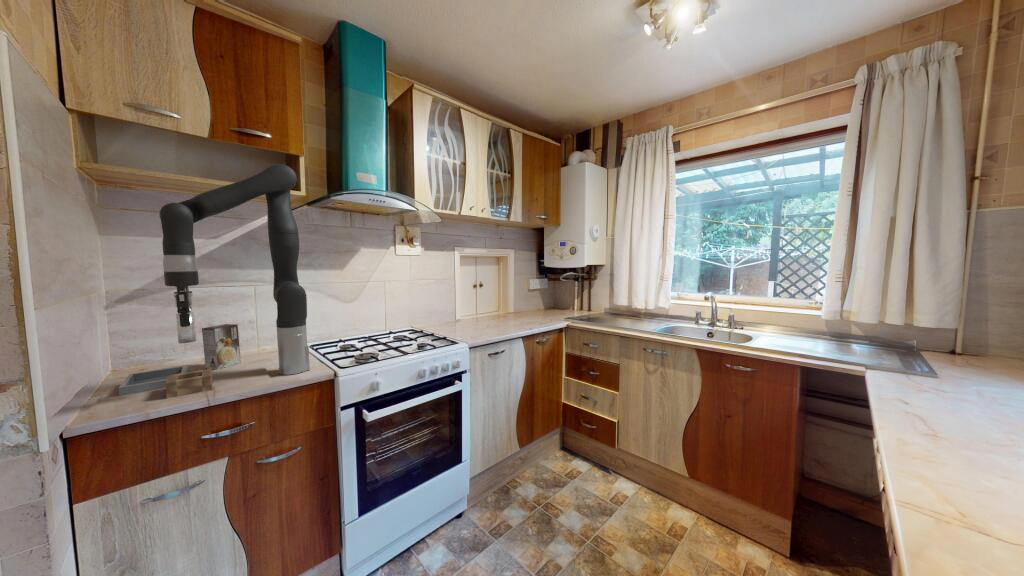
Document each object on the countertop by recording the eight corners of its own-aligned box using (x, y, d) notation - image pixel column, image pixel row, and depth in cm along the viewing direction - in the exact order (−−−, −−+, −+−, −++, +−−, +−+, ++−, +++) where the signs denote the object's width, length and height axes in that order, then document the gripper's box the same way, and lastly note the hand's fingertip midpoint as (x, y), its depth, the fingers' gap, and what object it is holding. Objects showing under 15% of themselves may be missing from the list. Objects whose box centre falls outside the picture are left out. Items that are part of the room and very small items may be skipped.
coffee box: (228, 362, 139) (225, 323, 138) (241, 362, 138) (238, 324, 137) (204, 369, 130) (201, 328, 129) (217, 369, 129) (214, 328, 128)
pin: (196, 339, 108) (194, 311, 107) (195, 341, 105) (193, 313, 104) (179, 341, 105) (176, 313, 104) (177, 344, 102) (175, 314, 101)
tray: (187, 374, 123) (187, 365, 123) (184, 387, 111) (183, 377, 110) (130, 384, 114) (129, 374, 114) (119, 399, 101) (118, 387, 101)
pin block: (212, 384, 113) (211, 368, 113) (212, 393, 106) (211, 375, 105) (170, 392, 107) (169, 375, 106) (167, 401, 99) (165, 383, 99)
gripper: (196, 270, 100) (201, 327, 102) (198, 269, 111) (203, 321, 112) (160, 270, 95) (166, 330, 97) (166, 270, 106) (171, 324, 107)
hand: (186, 325), depth 105 cm, fingers closed on pin, 4 cm apart
